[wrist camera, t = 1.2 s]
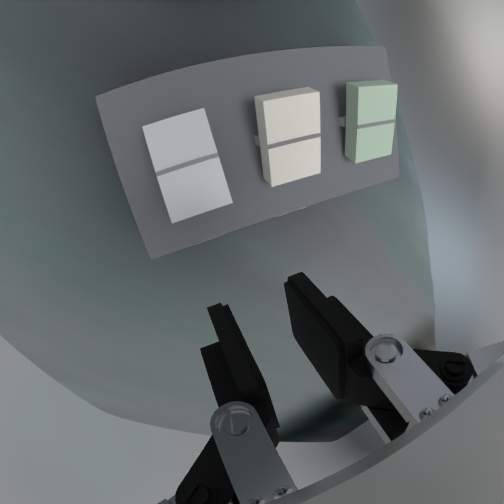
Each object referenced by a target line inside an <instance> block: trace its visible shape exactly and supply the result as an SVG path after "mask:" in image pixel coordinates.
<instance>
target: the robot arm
mask: <svg viewBox="0 0 504 504" xmlns="http://www.w3.org/2000/svg"><path fill="white" fill-rule="evenodd" d="M284 287H285V293H286V298H287V303H288V309H289V315H290V320H291V326H292V331H293V335H294V337H295V339H296V341H297V342H298V344H299V345H300V347H301V348H302V350H303V351H304V353H305V354H306V356H307V357H308V359H309V360H310V362H311V363H312V365H313V366H314V368H315V369H316V370H317V372H318V373H319V375H320V376H321V378H322V379H323V381H324V382H325V384H326V385H327V387H328V388H329V389H330V391H331V392H332V394H333V395H334V397H335V398H336V399H337V400H339V399H342V400H343V402H344V403H345V404H347V403H349V402H351V401H353V403H354V404H355V405H361V407H362V409H363V411H364V412H365V414H366V415H367V417H368V418H369V419H370V421H371V422H372V424H373V425H374V427H375V428H376V430H377V431H378V433H379V434H380V435H381V437H382V438H383V440H384V441H385V443H386V444H387V445H385V446H384V447H382V448H380V449H378V450H377V451H375V452H373V453H372V454H370V455H368V456H366V457H365V458H363V459H361V460H359V461H358V462H356V463H354V464H352V465H350V466H348V467H346V468H344V469H343V470H341V471H339V472H337V473H335V474H333V475H331V476H329V477H327V478H324V479H322V480H320V481H318V482H316V483H314V484H312V485H309V486H307V487H305V488H303V489H300V490H298V489H297V487H296V485H295V484H294V482H293V480H292V478H291V476H290V475H289V473H288V471H287V469H286V467H285V465H284V464H283V462H282V460H281V458H280V456H279V454H278V452H277V450H276V447H277V445H278V443H279V441H280V438H279V436H278V433H277V430H276V428H278V427H280V426H279V423H278V420H277V417H276V414H275V410H274V407H273V404H272V401H271V398H270V395H269V392H268V389H267V386H266V383H265V381H264V378H263V376H262V374H261V372H260V370H259V368H258V366H257V364H256V362H255V360H254V358H253V356H252V354H251V352H250V350H249V348H248V346H247V344H246V341H245V339H244V337H243V335H242V333H241V331H240V329H239V327H238V325H237V323H236V321H235V318H234V316H233V314H232V312H231V310H230V308H229V306H228V304H227V305H225V306H222V304H221V303H218V304H216V305H213V306H210V307H208V308H207V309H208V312H209V315H210V317H211V320H212V323H213V326H214V328H215V331H216V334H217V336H218V339H219V342H217V343H214V344H211V345H208V346H206V347H203V348H200V350H201V354H202V357H203V360H204V363H205V367H206V370H207V373H208V376H209V379H210V382H211V385H212V389H213V392H214V395H215V398H216V401H217V403H218V406H219V408H218V409H217V410H216V411H215V412H214V414H213V415H212V417H211V421H210V427H211V431H212V434H213V435H212V436H211V438H210V439H209V441H208V443H207V444H206V446H205V447H204V449H203V450H202V452H201V454H200V455H199V457H198V458H197V460H196V461H195V463H194V464H193V466H192V467H191V469H190V470H189V472H188V473H187V475H186V476H185V478H184V479H183V481H182V482H181V484H180V485H179V487H178V489H177V491H176V494H175V495H174V496H173V497H171V498H170V499H169V500H166V499H164V500H163V501H161V502H160V503H158V504H504V341H502V342H499V343H496V344H492V345H489V346H486V347H483V348H479V349H476V350H473V351H469V352H467V354H466V355H462V354H460V353H454V352H440V351H429V350H418V349H411V348H410V346H409V345H408V344H407V343H406V342H405V341H404V340H403V339H401V338H400V337H398V336H396V335H393V334H380V335H377V336H375V337H373V336H372V335H371V334H370V333H369V331H368V330H367V329H366V328H365V327H364V326H363V325H362V324H361V323H360V322H359V321H358V320H357V319H356V318H355V317H354V316H353V315H352V314H351V313H350V312H349V311H348V310H347V308H346V307H345V306H344V305H343V304H342V303H341V302H340V301H339V300H338V299H337V298H336V297H334V296H330V297H328V298H326V296H325V295H324V294H323V293H322V292H321V291H320V290H319V289H318V288H317V287H316V286H315V285H314V284H313V283H312V282H311V280H310V279H309V278H308V277H307V276H306V275H305V274H304V273H303V272H300V273H297V274H295V275H292V276H289V277H288V281H287V282H285V283H284Z"/></svg>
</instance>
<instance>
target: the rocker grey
mask: <svg viewBox="0 0 504 504" xmlns="http://www.w3.org/2000/svg"><path fill="white" fill-rule="evenodd" d="M142 128H143V132H144V135H145V139H146V142H147V146H148V149H149V152H150V156H151V159H152V163H153V166H154V169H155V173H156V176H157V179H158V182H159V185H160V189H161V192H162V195H163V198H164V201H165V204H166V207H167V210H168V213H169V216H170V219H171V222H172V223H175V222H178V221H181V220H184V219H187V218H189V217H192V216H195V215H198V214H201V213H204V212H207V211H210V210H213V209H216V208H219V207H222V206H225V205H228V204H231V203H233V202H232V198H231V195H230V192H229V188H228V185H227V182H226V179H225V175H224V172H223V169H222V165H221V162H220V159H219V155H218V152H217V149H216V146H215V142H214V139H213V136H212V132H211V129H210V126H209V122H208V119H207V116H206V113H205V109H204V108H202V109H198V110H194V111H191V112H187V113H184V114H180V115H177V116H174V117H170V118H167V119H164V120H161V121H158V122H155V123H151V124H148V125H145V126H143V127H142Z"/></svg>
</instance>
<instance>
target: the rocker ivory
mask: <svg viewBox="0 0 504 504" xmlns="http://www.w3.org/2000/svg"><path fill="white" fill-rule="evenodd" d="M254 100H255V108H256V116H257V124H258V133H259V141H260V150H261V159H262V167H263V176H264V179H265V180H266V181H267V182H268V183H269V185H270V186H271V187H274V186H277V185H281V184H284V183H288V182H291V181H294V180H298V179H301V178H305V177H308V176H312V175H315V174H319V173H321V131H320V92H319V91H317V90H314V89H312V88H310V87H304V88H298V89H291V90H285V91H279V92H274V93H268V94H263V95H258V96H254Z"/></svg>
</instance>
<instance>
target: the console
mask: <svg viewBox="0 0 504 504" xmlns="http://www.w3.org/2000/svg"><path fill="white" fill-rule="evenodd" d="M370 80H387V81H390V82H391V76H390V70H389V63H388V58H387V52H386V47H384V46H329V47H311V48H298V49H287V50H278V51H270V52H262V53H255V54H249V55H243V56H237V57H231V58H226V59H221V60H216V61H211V62H206V63H202V64H198V65H193V66H189V67H185V68H181V69H177V70H174V71H170V72H166V73H163V74H159V75H156V76H152V77H149V78H146V79H143V80H140V81H137V82H134V83H131V84H128V85H125V86H122V87H119V88H116V89H114V90H111V91H108V92H105V93H103V94H100V95H98V96H95V99H96V102H97V106H98V110H99V113H100V117H101V120H102V124H103V127H104V130H105V134H106V137H107V140H108V144H109V147H110V150H111V153H112V156H113V159H114V162H115V165H116V168H117V171H118V174H119V177H120V180H121V183H122V186H123V189H124V192H125V194H126V197H127V200H128V203H129V205H130V208H131V211H132V213H133V216H134V219H135V221H136V224H137V227H138V229H139V232H140V234H141V237H142V239H143V242H144V244H145V247H146V249H147V252H148V254H149V257H150V259H151V260H153V259H156V258H159V257H162V256H164V255H167V254H170V253H173V252H176V251H178V250H181V249H184V248H187V247H190V246H193V245H196V244H199V243H201V242H204V241H207V240H210V239H213V238H216V237H219V236H221V235H224V234H227V233H230V232H233V231H235V230H238V229H241V228H244V227H247V226H250V225H253V224H256V223H259V222H262V221H265V220H268V219H271V218H274V217H277V216H280V215H283V214H286V213H289V212H292V211H295V210H298V209H301V208H304V207H307V206H310V205H313V204H316V203H319V202H322V201H325V200H328V199H332V198H335V197H338V196H341V195H344V194H347V193H350V192H353V191H357V190H360V189H363V188H366V187H369V186H373V185H376V184H379V183H382V182H385V181H389V180H392V179H395V178H398V177H400V173H399V152H398V137H397V125H396V123H395V125H394V135H393V144H392V152H391V155H387V156H383V157H379V158H375V159H371V160H367V161H363V162H359V163H354V162H352V161H351V160H350V159H348V158H347V157H346V156H345V137H346V82H357V81H370ZM304 87H310V88H312V89H314V90H317V91H319V92H320V131H321V173H319V174H315V175H312V176H308V177H305V178H301V179H298V180H294V181H291V182H288V183H284V184H281V185H277V186H274V187H271V186H270V185H269V183H268V182H267V181H266V180H265V179H264V176H263V167H262V159H261V150H260V141H259V133H258V124H257V116H256V108H255V100H254V96H258V95H263V94H268V93H274V92H279V91H285V90H291V89H298V88H304ZM202 108H204V109H205V113H206V116H207V119H208V122H209V126H210V129H211V132H212V136H213V139H214V142H215V146H216V149H217V152H218V155H219V159H220V162H221V165H222V169H223V172H224V175H225V179H226V182H227V185H228V188H229V192H230V195H231V198H232V202H233V203H231V204H228V205H225V206H222V207H219V208H216V209H213V210H210V211H207V212H204V213H201V214H198V215H195V216H192V217H189V218H187V219H184V220H181V221H178V222H175V223H172V222H171V219H170V216H169V213H168V210H167V207H166V204H165V201H164V198H163V195H162V192H161V189H160V185H159V182H158V179H157V176H156V173H155V169H154V166H153V163H152V159H151V156H150V152H149V149H148V146H147V142H146V139H145V135H144V132H143V128H142V127H143V126H145V125H148V124H151V123H155V122H158V121H161V120H164V119H167V118H170V117H174V116H177V115H180V114H184V113H187V112H191V111H194V110H198V109H202ZM395 119H396V115H395Z"/></svg>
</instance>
